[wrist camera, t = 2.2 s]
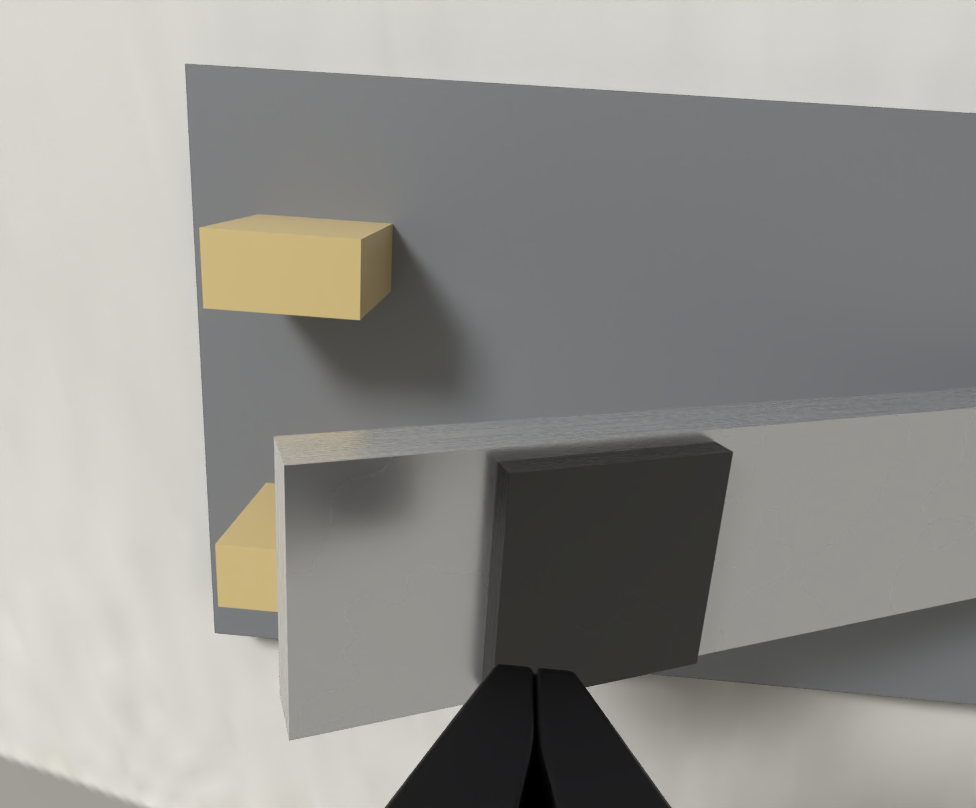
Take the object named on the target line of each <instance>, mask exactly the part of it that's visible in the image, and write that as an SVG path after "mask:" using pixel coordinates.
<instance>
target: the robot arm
mask: <svg viewBox="0 0 976 808" xmlns="http://www.w3.org/2000/svg"><path fill="white" fill-rule="evenodd" d="M385 808H671V807H670V805H669V804H668V802H667V801H666V800H665V798H664V797H663V795H662V794H661V793H660V791H659V790H658V788H657V787H656V786H655V784H654V783H653V781H652V780H651V779H650V777H649V776H648V774H647V773H646V772H645V770H644V769H643V767H642V766H641V765H640V763H639V762H638V760H637V759H636V758H635V756H634V755H633V753H632V752H631V751H630V749H629V748H628V746H627V745H626V744H625V742H624V741H623V739H622V738H621V737H620V735H619V734H618V732H617V731H616V730H615V728H614V727H613V725H612V724H611V723H610V721H609V720H608V718H607V717H606V716H605V714H604V713H603V711H602V710H601V709H600V707H599V706H598V704H597V703H596V702H595V700H594V699H593V697H592V696H591V695H590V693H589V692H588V690H587V689H586V688H585V686H584V685H583V683H582V682H581V681H580V679H579V678H578V676H577V675H576V674H575V673H573V672H572V671H568V670H558V669H547V668H539V669H537V670H536V671H535V674H534V672H533V670H532V669H531V668H530V667H526V666H516V665H506V664H497V665H495V666H494V667H493V668H492V669H491V670H490V672H489V673H488V674H487V675H486V677H485V678H484V679H483V681H482V682H481V683H480V685H479V686H478V687H477V688H476V690H475V691H474V692H473V694H472V695H471V696H470V698H469V699H468V700H467V701H466V703H465V704H464V705H463V707H462V708H461V709H460V711H459V712H458V713H457V714H456V716H455V717H454V718H453V720H452V721H451V722H450V724H449V725H448V726H447V727H446V729H445V730H444V731H443V733H442V734H441V735H440V736H439V738H438V739H437V740H436V742H435V743H434V744H433V746H432V747H431V748H430V749H429V751H428V752H427V753H426V755H425V756H424V757H423V759H422V760H421V761H420V762H419V764H418V765H417V766H416V768H415V769H414V770H413V772H412V773H411V774H410V775H409V777H408V778H407V779H406V781H405V782H404V783H403V785H402V786H401V787H400V788H399V790H398V791H397V792H396V794H395V795H394V796H393V798H392V799H391V800H390V801H389V803H388V804H387V805H386V807H385Z"/></svg>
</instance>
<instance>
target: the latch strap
mask: <svg viewBox="0 0 976 808" xmlns="http://www.w3.org/2000/svg"><path fill="white" fill-rule="evenodd" d="M274 468H275V511H276V554H277V597H278V641H279V684H280V697H281V702H282V707H283V712H284V717H285V722H286V727H287V732H288V737H289V741H290V740H295V739H299V738H304V737H309V736H314V735H319V734H323V733H328V732H333V731H338V730H343V729H348V728H352V727H357V726H362V725H367V724H372V723H376V722H381V721H386V720H391V719H396V718H400V717H405V716H410V715H415V714H420V713H424V712H429V711H434V710H439V709H444V708H448V707H453V706H458V705H463V704H465V703H466V701H467V700H468V699H469V698H470V696H471V695H472V694H473V692H474V691H475V690H476V688H477V687H478V686H479V685H480V683H481V682H482V681H483V679H484V678H485V677H486V675H487V674H488V673H489V672H490V670H491V669H492V668H493V667H494V666H495V665H497V664H506V665H516V666H526V667H530V668H531V669H532V670H533V672H534V674H535V671H536V670H537V669H539V668H547V669H558V670H568V671H572V672H573V673H575V674H576V675H577V676H578V678H579V679H580V681H581V682H582V683H583V685H584V686H585V687H589V686H594V685H599V684H603V683H608V682H613V681H617V680H622V679H627V678H632V677H636V676H641V675H646V674H650V673H655V672H660V671H665V670H669V669H674V668H679V667H683V666H688V665H693V664H697V660H698V656H699V655H703V654H708V653H713V652H718V651H723V650H727V649H732V648H737V647H742V646H747V645H751V644H756V643H761V642H766V641H771V640H775V639H780V638H785V637H790V636H795V635H800V634H804V633H809V632H814V631H819V630H824V629H828V628H833V627H838V626H843V625H848V624H852V623H857V622H862V621H867V620H872V619H876V618H881V617H886V616H891V615H896V614H900V613H905V612H910V611H915V610H920V609H925V608H929V607H934V606H939V605H944V604H949V603H953V602H958V601H963V600H968V599H973V598H976V387H971V388H957V389H943V390H928V391H914V392H900V393H885V394H871V395H857V396H843V397H828V398H814V399H800V400H785V401H771V402H757V403H742V404H728V405H714V406H699V407H685V408H671V409H657V410H642V411H628V412H614V413H599V414H585V415H571V416H556V417H542V418H528V419H513V420H499V421H485V422H471V423H456V424H442V425H428V426H413V427H399V428H385V429H370V430H356V431H342V432H327V433H313V434H299V435H285V436H274Z"/></svg>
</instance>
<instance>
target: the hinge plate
mask: <svg viewBox="0 0 976 808" xmlns="http://www.w3.org/2000/svg"><path fill="white" fill-rule="evenodd" d="M185 73H186V92H187V111H188V130H189V149H190V168H191V187H192V206H193V226H194V245H195V264H196V283H197V302H198V321H199V340H200V359H201V378H202V397H203V417H204V436H205V455H206V474H207V493H208V512H209V531H210V550H211V569H212V589H213V608H214V627H215V633H220V634H230V635H241V636H252V637H262V638H273V639H278V597H277V554H276V511H275V468H274V436H285V435H299V434H313V433H327V432H342V431H356V430H370V429H385V428H399V427H413V426H428V425H442V424H456V423H471V422H485V421H499V420H513V419H528V418H542V417H556V416H571V415H585V414H599V413H614V412H628V411H642V410H657V409H671V408H685V407H699V406H714V405H728V404H742V403H757V402H771V401H785V400H800V399H814V398H828V397H843V396H857V395H871V394H885V393H900V392H914V391H928V390H943V389H957V388H971V387H976V113H961V112H945V111H929V110H913V109H897V108H881V107H865V106H850V105H834V104H818V103H802V102H786V101H770V100H754V99H738V98H722V97H706V96H691V95H675V94H659V93H643V92H627V91H611V90H595V89H579V88H563V87H548V86H532V85H516V84H500V83H484V82H468V81H452V80H436V79H420V78H404V77H389V76H373V75H357V74H341V73H325V72H309V71H293V70H277V69H261V68H246V67H230V66H214V65H198V64H185ZM650 674H656V675H666V676H677V677H687V678H698V679H709V680H719V681H730V682H741V683H751V684H762V685H772V686H783V687H794V688H804V689H815V690H826V691H836V692H847V693H858V694H868V695H879V696H889V697H900V698H911V699H921V700H932V701H943V702H953V703H964V704H974V705H976V598H973V599H968V600H963V601H958V602H953V603H949V604H944V605H939V606H934V607H929V608H925V609H920V610H915V611H910V612H905V613H900V614H896V615H891V616H886V617H881V618H876V619H872V620H867V621H862V622H857V623H852V624H848V625H843V626H838V627H833V628H828V629H824V630H819V631H814V632H809V633H804V634H800V635H795V636H790V637H785V638H780V639H775V640H771V641H766V642H761V643H756V644H751V645H747V646H742V647H737V648H732V649H727V650H723V651H718V652H713V653H708V654H703V655H699V656H698V660H697V664H693V665H688V666H683V667H679V668H674V669H669V670H665V671H660V672H655V673H650Z"/></svg>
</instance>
